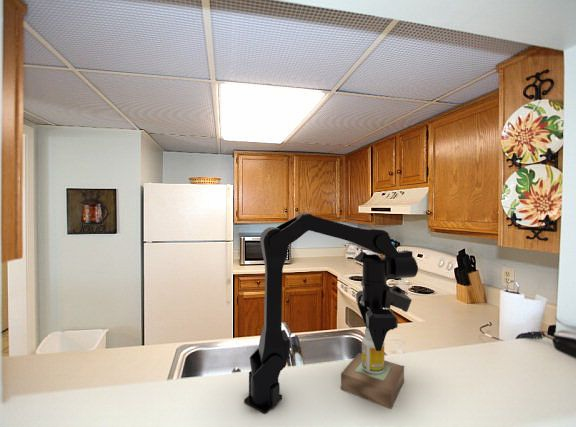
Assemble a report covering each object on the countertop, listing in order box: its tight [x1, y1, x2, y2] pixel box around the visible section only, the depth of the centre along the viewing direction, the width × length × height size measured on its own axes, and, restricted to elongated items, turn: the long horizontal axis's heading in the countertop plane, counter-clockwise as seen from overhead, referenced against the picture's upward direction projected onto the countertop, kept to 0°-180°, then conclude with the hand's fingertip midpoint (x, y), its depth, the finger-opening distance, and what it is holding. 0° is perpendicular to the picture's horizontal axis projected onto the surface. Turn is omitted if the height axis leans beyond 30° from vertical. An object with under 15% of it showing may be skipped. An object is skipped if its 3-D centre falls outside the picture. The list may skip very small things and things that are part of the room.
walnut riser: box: [340, 352, 405, 409], centre depth 72 cm, size 12×12×4 cm
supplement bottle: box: [361, 327, 385, 374], centre depth 71 cm, size 5×5×10 cm
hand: (374, 341), depth 71 cm, fingers open, 9 cm apart
